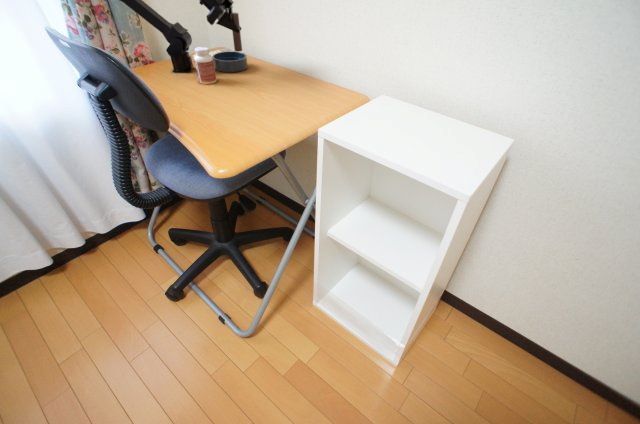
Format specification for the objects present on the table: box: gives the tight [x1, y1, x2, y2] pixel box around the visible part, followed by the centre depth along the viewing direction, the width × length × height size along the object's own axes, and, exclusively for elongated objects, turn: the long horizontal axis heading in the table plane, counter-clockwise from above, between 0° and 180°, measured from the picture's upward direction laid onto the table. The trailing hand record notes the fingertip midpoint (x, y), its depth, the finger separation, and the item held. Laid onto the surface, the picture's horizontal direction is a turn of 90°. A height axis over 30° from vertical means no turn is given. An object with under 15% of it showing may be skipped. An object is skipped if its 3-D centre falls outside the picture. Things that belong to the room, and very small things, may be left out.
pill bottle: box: [194, 46, 217, 85], centre depth 110 cm, size 6×6×11 cm
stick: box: [230, 12, 243, 52], centre depth 113 cm, size 3×3×12 cm
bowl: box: [211, 50, 249, 74], centre depth 124 cm, size 13×13×4 cm
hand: (239, 31), depth 112 cm, fingers closed on stick, 3 cm apart
